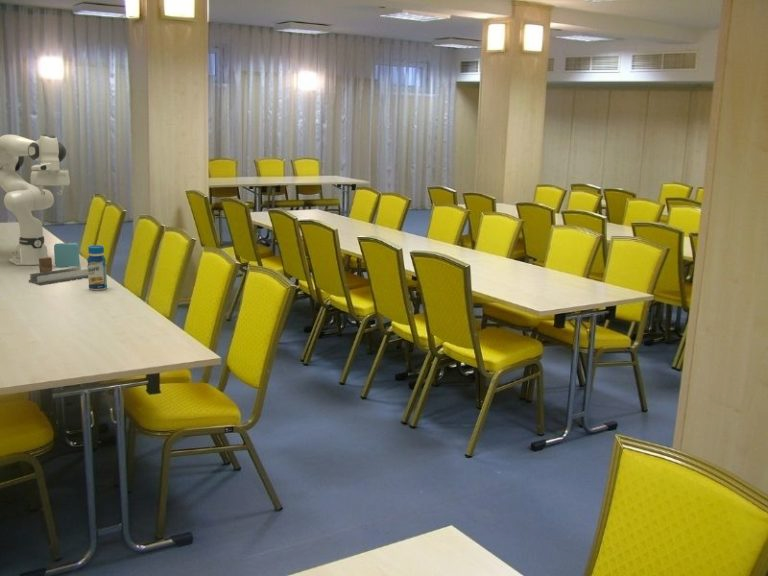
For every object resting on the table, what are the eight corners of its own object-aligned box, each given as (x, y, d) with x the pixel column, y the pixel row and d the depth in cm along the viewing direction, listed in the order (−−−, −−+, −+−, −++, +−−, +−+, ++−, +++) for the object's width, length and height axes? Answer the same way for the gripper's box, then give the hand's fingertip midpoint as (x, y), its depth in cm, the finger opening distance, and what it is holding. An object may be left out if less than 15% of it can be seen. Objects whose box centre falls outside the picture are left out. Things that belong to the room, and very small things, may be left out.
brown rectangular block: (39, 276, 410) (38, 258, 409) (49, 274, 414) (48, 256, 412) (43, 276, 409) (41, 259, 407) (52, 275, 412) (51, 257, 410)
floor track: (28, 281, 397) (28, 273, 396) (78, 274, 417) (78, 266, 416) (40, 285, 390) (39, 277, 389) (90, 277, 410) (90, 269, 409)
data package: (79, 265, 440) (78, 242, 438) (79, 266, 436) (78, 244, 434) (55, 266, 436) (53, 243, 433) (55, 267, 431) (54, 245, 429)
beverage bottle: (111, 288, 388) (109, 246, 384) (97, 291, 381) (95, 248, 376) (98, 286, 392) (96, 244, 388) (84, 289, 385) (82, 246, 380)
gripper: (64, 167, 427) (65, 194, 429) (28, 166, 411) (29, 194, 412) (72, 167, 424) (73, 194, 425) (35, 166, 407) (36, 194, 409)
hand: (51, 194), depth 419 cm, fingers open, 8 cm apart
